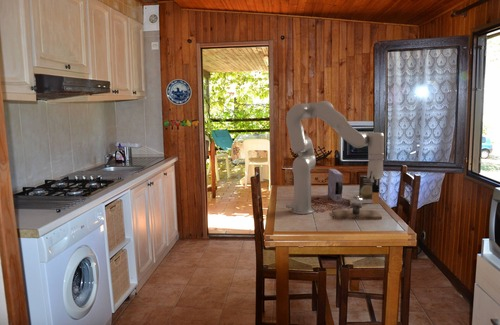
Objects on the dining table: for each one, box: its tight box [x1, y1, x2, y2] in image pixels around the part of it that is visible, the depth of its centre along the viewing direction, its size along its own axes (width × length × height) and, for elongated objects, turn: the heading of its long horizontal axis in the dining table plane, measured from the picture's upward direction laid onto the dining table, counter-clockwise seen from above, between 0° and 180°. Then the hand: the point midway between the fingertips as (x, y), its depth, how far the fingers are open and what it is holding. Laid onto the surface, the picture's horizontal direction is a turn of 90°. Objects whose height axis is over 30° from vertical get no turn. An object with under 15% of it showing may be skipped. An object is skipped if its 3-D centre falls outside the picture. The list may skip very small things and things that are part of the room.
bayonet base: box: [331, 205, 383, 220], centre depth 217 cm, size 24×12×6 cm, turn 86°
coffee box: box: [358, 174, 372, 200], centre depth 246 cm, size 9×6×16 cm
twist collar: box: [349, 191, 380, 207], centre depth 216 cm, size 15×6×8 cm, turn 86°
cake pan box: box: [327, 168, 344, 203], centre depth 256 cm, size 19×5×18 cm, turn 3°
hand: (375, 192), depth 209 cm, fingers closed
